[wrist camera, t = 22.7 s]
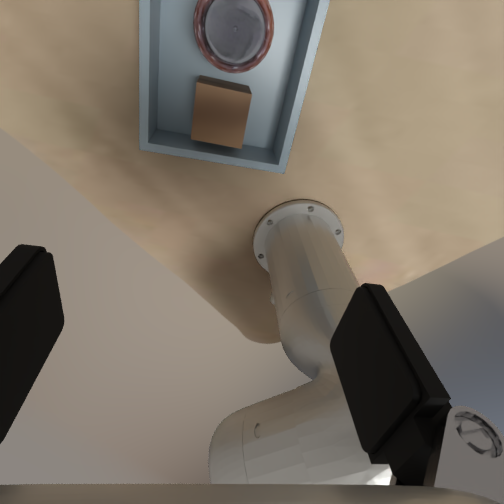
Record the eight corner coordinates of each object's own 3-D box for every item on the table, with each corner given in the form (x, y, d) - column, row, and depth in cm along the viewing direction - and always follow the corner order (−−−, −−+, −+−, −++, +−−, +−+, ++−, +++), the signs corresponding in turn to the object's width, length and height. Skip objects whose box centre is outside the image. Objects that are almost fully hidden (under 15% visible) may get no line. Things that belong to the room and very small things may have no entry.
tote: (276, 155, 39) (284, 173, 34) (150, 133, 36) (139, 149, 31) (323, -38, 29) (342, -50, 24) (154, -86, 26) (139, -109, 22)
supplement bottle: (201, -21, 28) (190, -42, 19) (268, -9, 29) (288, -24, 20) (199, 58, 32) (188, 72, 23) (259, 66, 33) (272, 84, 23)
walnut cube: (239, 134, 36) (241, 148, 32) (194, 125, 35) (190, 139, 31) (248, 85, 33) (252, 94, 29) (200, 74, 33) (196, 82, 28)
